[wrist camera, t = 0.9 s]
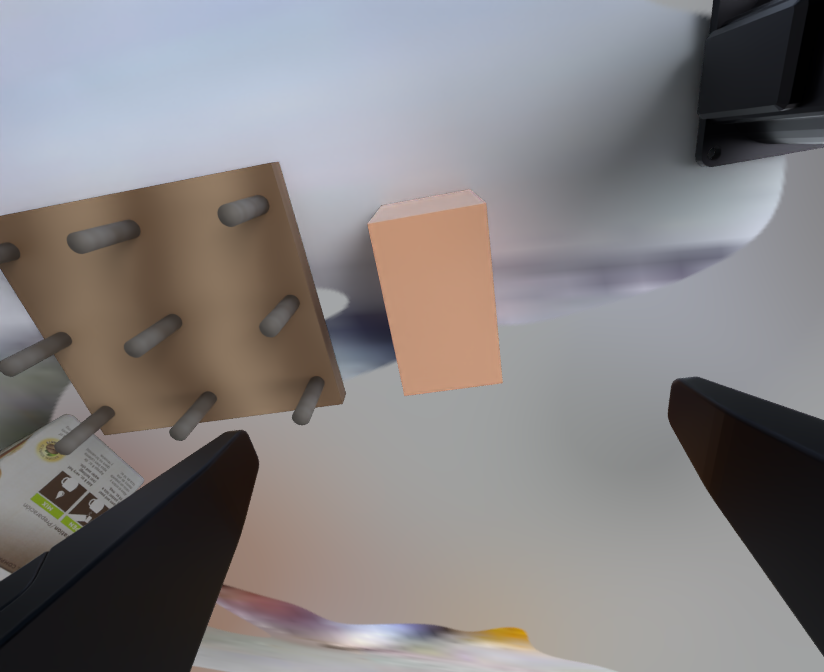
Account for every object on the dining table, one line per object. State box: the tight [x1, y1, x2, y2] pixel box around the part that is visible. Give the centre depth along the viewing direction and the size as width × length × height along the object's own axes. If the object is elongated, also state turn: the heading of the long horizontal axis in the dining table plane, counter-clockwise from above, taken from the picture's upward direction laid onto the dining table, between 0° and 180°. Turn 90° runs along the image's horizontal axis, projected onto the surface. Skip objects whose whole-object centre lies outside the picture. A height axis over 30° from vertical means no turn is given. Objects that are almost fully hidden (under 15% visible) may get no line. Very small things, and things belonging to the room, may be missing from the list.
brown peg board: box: [0, 162, 346, 455], centre depth 19 cm, size 14×12×4 cm
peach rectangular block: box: [367, 189, 502, 396], centre depth 17 cm, size 4×7×5 cm, turn 10°
